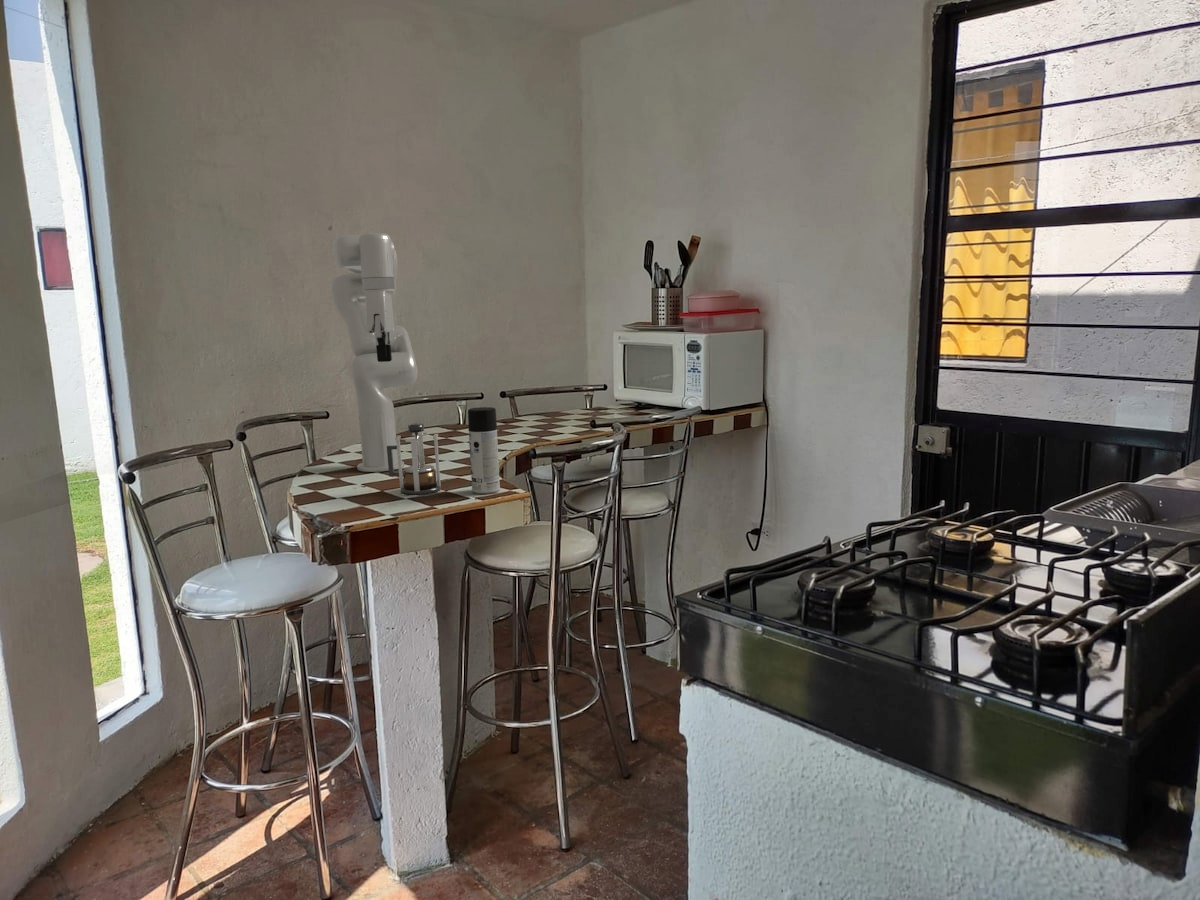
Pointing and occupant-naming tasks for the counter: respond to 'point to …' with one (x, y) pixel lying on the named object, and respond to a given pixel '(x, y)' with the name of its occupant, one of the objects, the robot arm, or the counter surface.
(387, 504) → the counter surface
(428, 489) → the cafetera
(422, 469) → the coffee press plunger
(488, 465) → the spray can
